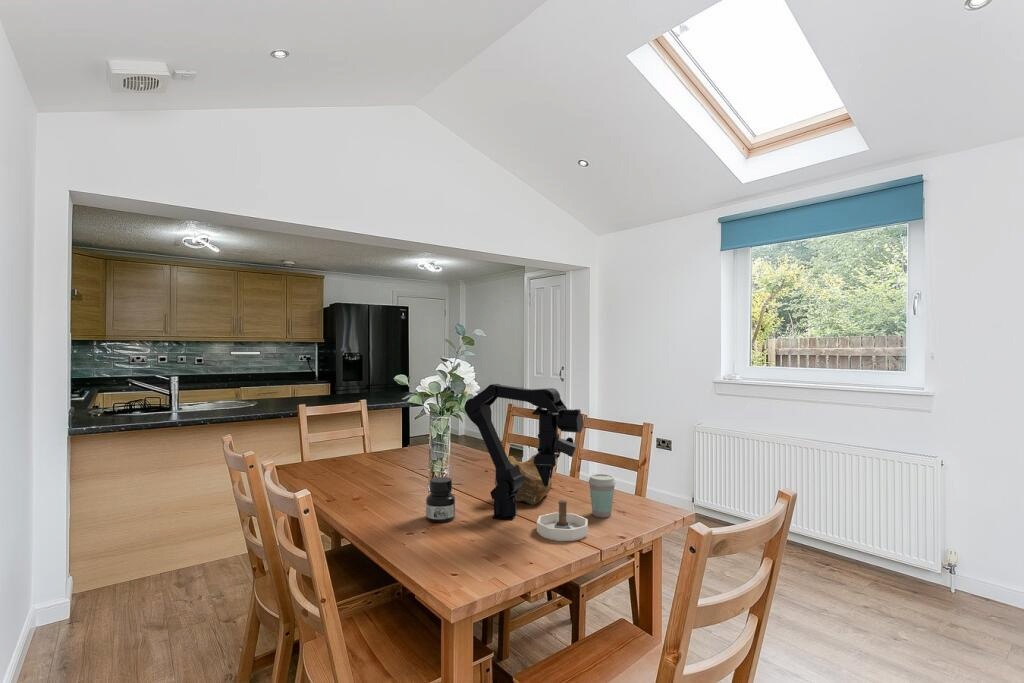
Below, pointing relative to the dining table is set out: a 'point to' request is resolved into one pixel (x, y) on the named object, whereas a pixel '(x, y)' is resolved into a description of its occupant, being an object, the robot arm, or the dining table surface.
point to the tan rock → (530, 482)
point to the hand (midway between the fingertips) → (547, 482)
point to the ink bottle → (440, 500)
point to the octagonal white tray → (562, 527)
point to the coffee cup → (601, 494)
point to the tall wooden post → (562, 512)
